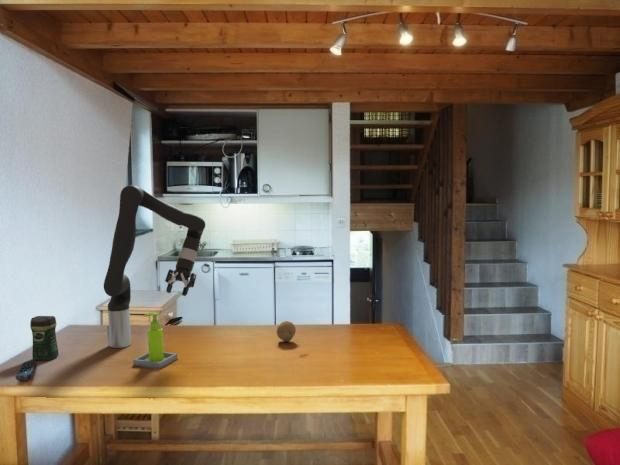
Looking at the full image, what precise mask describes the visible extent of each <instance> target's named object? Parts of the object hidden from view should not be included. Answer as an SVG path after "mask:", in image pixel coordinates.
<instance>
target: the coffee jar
mask: <svg viewBox="0 0 620 465" xmlns="http://www.w3.org/2000/svg"><path fill="white" fill-rule="evenodd" d="M29 328H30V330H31V335H32V351H31V352H32V360H33V361H50V360H54V359H56V358H58V356H59V347H58V341H57V334H56V333H57V332H56V328H57V319H56V317H55V316H54V315H36V316H33V317H31V319H30V327H29Z"/></svg>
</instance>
